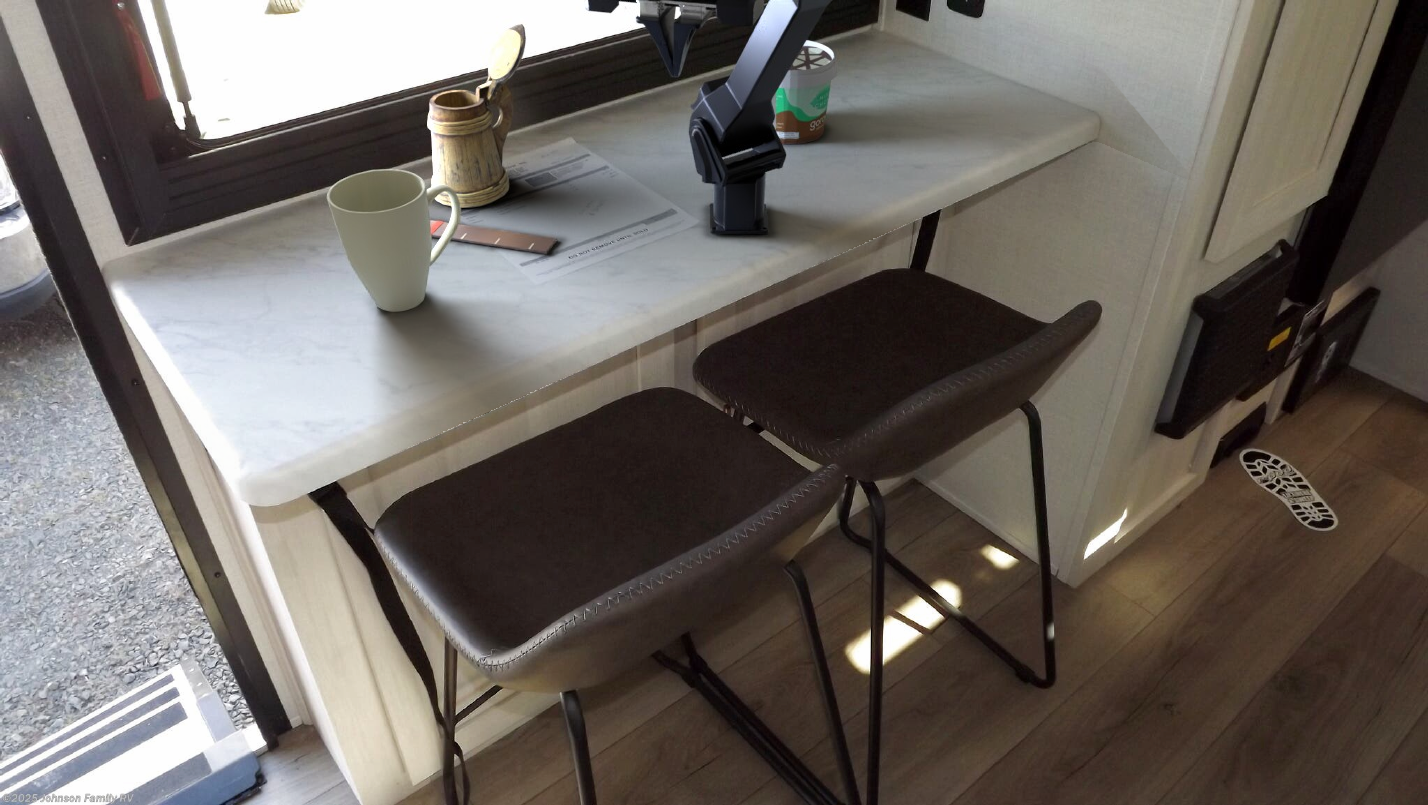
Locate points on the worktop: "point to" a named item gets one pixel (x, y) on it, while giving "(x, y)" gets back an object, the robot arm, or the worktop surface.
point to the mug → (390, 232)
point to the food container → (805, 94)
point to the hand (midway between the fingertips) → (675, 75)
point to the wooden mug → (476, 129)
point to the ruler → (495, 237)
